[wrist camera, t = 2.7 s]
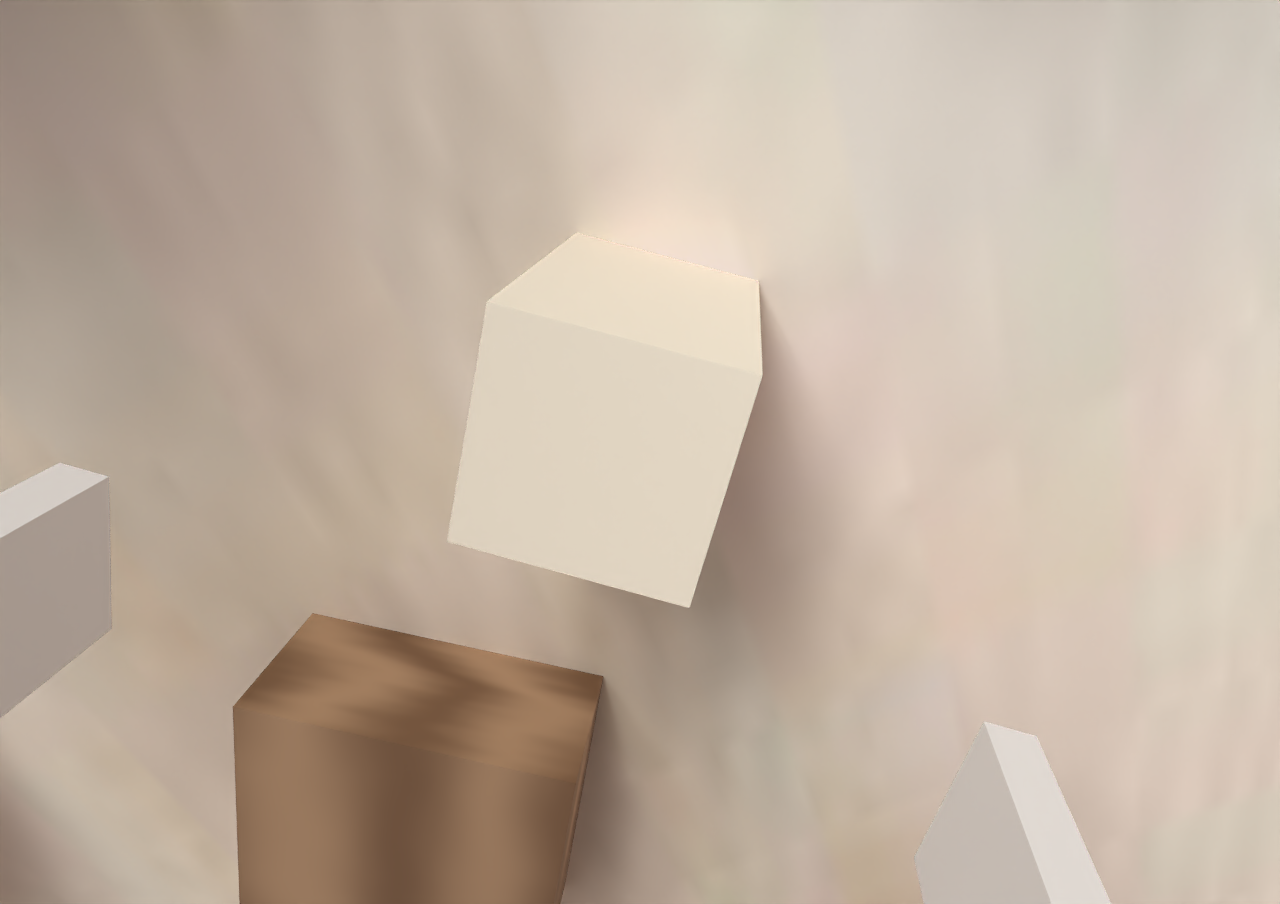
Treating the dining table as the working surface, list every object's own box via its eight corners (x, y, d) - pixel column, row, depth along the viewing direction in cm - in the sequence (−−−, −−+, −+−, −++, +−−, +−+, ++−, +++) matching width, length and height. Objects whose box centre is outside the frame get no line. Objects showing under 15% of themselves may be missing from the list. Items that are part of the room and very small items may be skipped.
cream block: (541, 403, 29) (446, 541, 20) (576, 232, 27) (486, 301, 18) (708, 448, 29) (689, 608, 20) (759, 280, 27) (762, 375, 18)
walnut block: (312, 823, 39) (241, 942, 34) (316, 609, 34) (233, 706, 29) (565, 881, 39) (534, 1011, 33) (604, 672, 34) (575, 783, 28)
